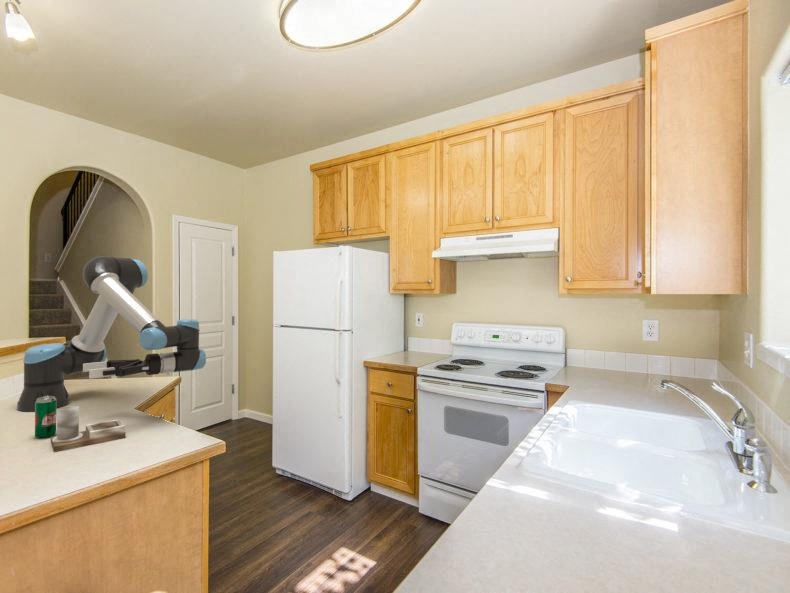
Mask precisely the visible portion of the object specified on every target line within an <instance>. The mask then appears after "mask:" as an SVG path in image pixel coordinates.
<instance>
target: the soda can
mask: <svg viewBox="0 0 790 593" xmlns="http://www.w3.org/2000/svg"><path fill="white" fill-rule="evenodd" d="M57 410H58V408H57V400H56V398H55V396H44V397H39V398H37V401H36V402H35V411H34V437H35V438H36V439H39V440H41V439H47V438H51V437H53V436H56V435H57Z"/></svg>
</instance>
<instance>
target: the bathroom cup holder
mask: <svg viewBox="0 0 790 593" xmlns="http://www.w3.org/2000/svg"><path fill="white" fill-rule="evenodd" d="M79 428H80V406H78V405H69V406H62V407H59V408H57V416H56V435H54V436H52V437H50V444H51V447H52V451H53V453H56V452H60V451H67V450H71V449H76V448H82V447H86V446H91V445H96V444H97V445H98V444H100V443H107V442H110V441H116V440H121V439H126V435H127V434H126V432H125V425H124V423H122V421H120V419H113V420H107V421H106V420H105V421H102V422H101V421H100V422H95V423H89V424H85V430H81V431H80V430H79Z"/></svg>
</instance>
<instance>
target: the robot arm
mask: <svg viewBox="0 0 790 593" xmlns="http://www.w3.org/2000/svg"><path fill="white" fill-rule="evenodd" d="M148 277H149V274H148V270H147V267H146V265H145V264H144V263H143V261H141V260H139V259H135V258H131V257H118V256H116V257H115V256H108V255H102V256H101V255H100V256H99V255H98V256H96V257H93V258H91V259H89V261H87V262H86V263H85V265H84V267H83V269H82V279H83V281H84V283H85V285H86V286H87V288H89V290H91V291H92V293H94V294H97V295H98V297H97V299H96V301H95V303H94V305H93V307H92V309H91V311H90V313H89V314H88V317H87V319H86V321H85V323H84V325H83V327H82V328H81V330H80V332H79V334H78V335H75V336H73V337H72V338H71V340H70V342H69V344H68V345H65V344H64V343H61V342H56V343H55V342H52V343H44V344H39V345H34V346H31V347H29V348H27V349H26V350H25V351H24V356H23V389H22V392H21V394H20V396H19V399H18V400H17V404H16V405H17V406H16V409H17V411H20V412H35V402H36V401H37V398H39V397H44V396H55V398H56V400H57V409H59V408H63V407H66V406H67V405H68V404H70V396H69V393H68V391H67V389H66V386H65V376H68V375H74V374H79V373H86V372H88V378H89V379H98V378H107V377H108V378H109V377H118V378H119V377H120V378H122V377H125V376H131V375H135V374H139V373H146V375H147V376H153V375H155V376H156V375H159V374H162V375H163V374H166V375H170V373H179V372H188V371H189V372H190V371H195V370H202V369H204V367H205V366H206V363H207V357H206V352H205V350H203V349H200V322H199V321H198V320H197V319H193V318H192V319H191V318H188V319H186V318H185V319H184V318H183V319H178V320H177V321H176V325H171V326H166V325H165V324H164V323H163V322H161V321H160V320H159V319H158V318H157V317H156V316H155V315H154V314H153V313H152V312H151V311H150V310H149V308H147V307H146V306H145V304H143V303H142V302H141V301H140V300H139V299H138V298H137V297H136V296H135V295H134V293H135V290H136V288H137V289H139V288H142V287H143V286H145V285H146V283H147V282H148V279H149V278H148ZM118 314H119V315H120V316H121V317H122V318H123V320H125V321H126V323H128V324H129V325H130V326H131V327H132V328H133V329H134V330H135V331H136V332H137V333H138V334H139V336H138V337H139V338H138V342H139V343H140V346H141V347H142V348H143V349H145V350H147V351H153V350H154V351H157V350H162V349H168V348H173V347H174V348H175V347H176V351H170V352H169V351H168V352H167V351H166V352H160V353H158V352H157V353H148V354H145V357H144V358H145V359H144V360H141V359H140V358H135V359H116V360H115V359H114V360H112V359H108V360H107V361H106V359H107V357H108V356H107V349H106V345H105V343H104V341H105V339H106V337H107V335H108V333H109V331H110V329H111V327H112V325H113V324H114V321H115V320H116V318H117V316H118Z"/></svg>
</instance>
